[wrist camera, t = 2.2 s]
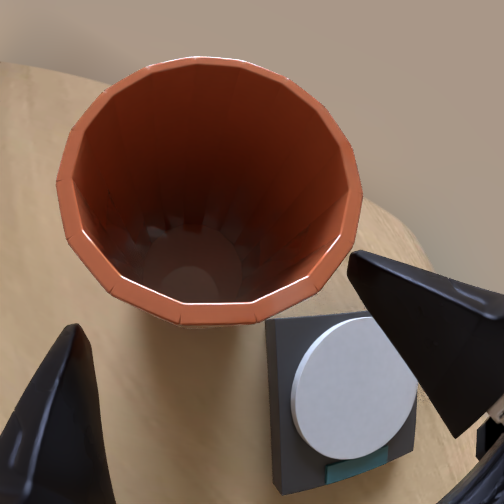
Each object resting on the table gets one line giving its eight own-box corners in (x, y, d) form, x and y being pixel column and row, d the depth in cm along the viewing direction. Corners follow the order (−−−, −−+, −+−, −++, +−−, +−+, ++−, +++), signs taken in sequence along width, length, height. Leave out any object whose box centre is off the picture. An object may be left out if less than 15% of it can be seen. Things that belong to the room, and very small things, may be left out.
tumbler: (248, 327, 18) (381, 313, 6) (138, 328, 16) (37, 318, 4) (243, 223, 20) (331, 77, 7) (141, 221, 18) (99, 58, 6)
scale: (398, 445, 18) (419, 453, 15) (272, 483, 15) (285, 501, 13) (397, 307, 21) (421, 303, 18) (264, 319, 18) (278, 317, 16)
